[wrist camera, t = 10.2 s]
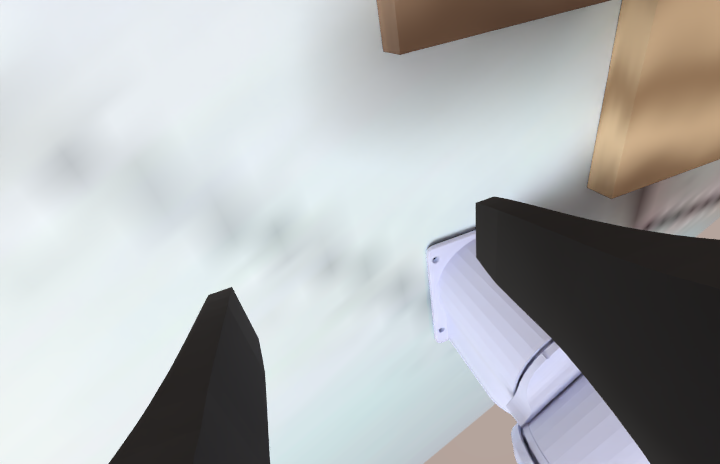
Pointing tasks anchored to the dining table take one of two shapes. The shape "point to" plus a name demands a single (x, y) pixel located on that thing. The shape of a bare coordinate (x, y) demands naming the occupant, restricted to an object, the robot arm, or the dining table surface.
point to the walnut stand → (458, 19)
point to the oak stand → (659, 95)
